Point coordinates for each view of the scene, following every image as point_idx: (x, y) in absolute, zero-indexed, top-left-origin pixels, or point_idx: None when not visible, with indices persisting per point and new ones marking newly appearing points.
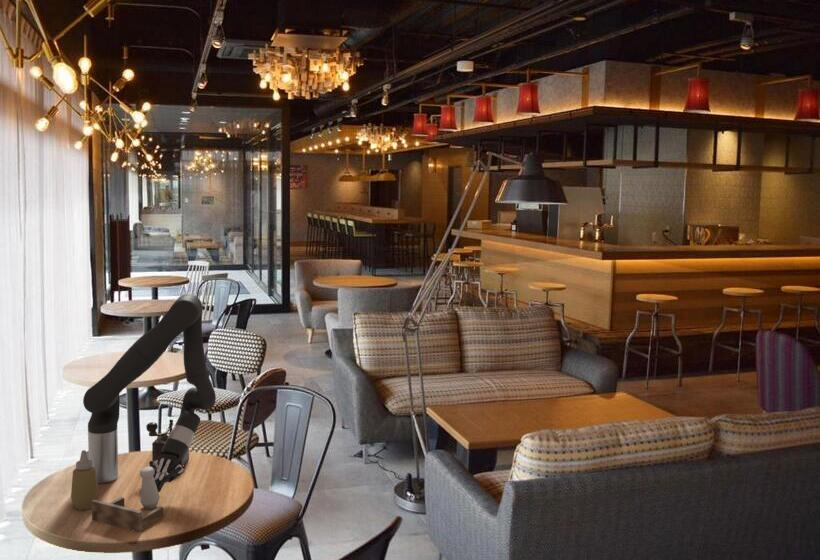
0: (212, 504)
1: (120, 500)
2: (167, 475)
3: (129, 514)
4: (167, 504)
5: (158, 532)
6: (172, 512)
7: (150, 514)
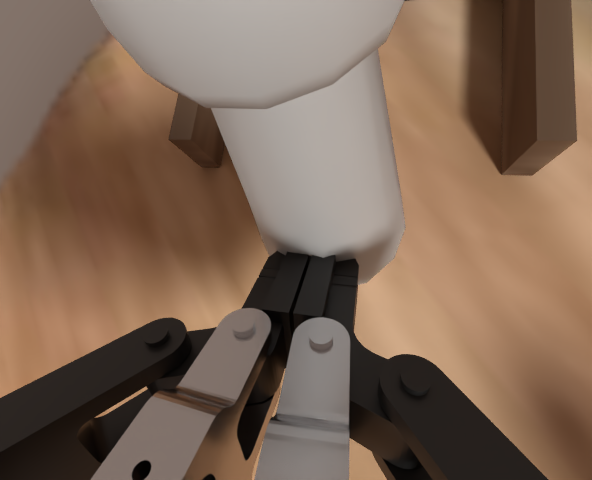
0: None
1: (532, 105)
2: (130, 366)
3: None
4: None
5: None
6: (181, 223)
7: None
